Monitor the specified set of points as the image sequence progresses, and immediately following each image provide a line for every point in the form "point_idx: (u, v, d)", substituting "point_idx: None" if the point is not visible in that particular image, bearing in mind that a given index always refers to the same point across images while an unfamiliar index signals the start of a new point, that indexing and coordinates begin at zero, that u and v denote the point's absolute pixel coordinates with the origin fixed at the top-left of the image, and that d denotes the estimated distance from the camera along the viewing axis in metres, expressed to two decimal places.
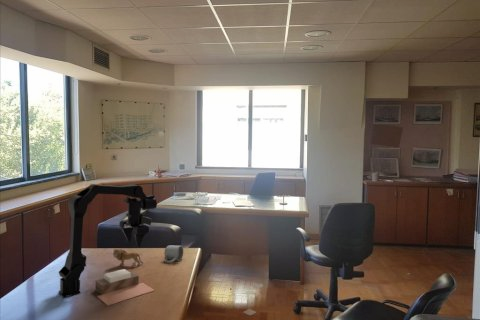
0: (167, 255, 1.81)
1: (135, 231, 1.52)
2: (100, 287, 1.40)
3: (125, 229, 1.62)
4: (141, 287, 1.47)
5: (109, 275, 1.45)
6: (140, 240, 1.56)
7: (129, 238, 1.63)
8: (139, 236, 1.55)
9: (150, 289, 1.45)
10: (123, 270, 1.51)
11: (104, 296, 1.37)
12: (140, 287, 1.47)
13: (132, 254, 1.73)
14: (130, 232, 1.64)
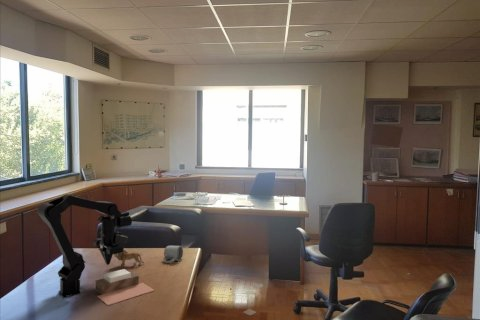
0: (167, 255, 1.81)
1: (108, 251, 1.46)
2: (100, 287, 1.40)
3: (103, 250, 1.53)
4: (141, 287, 1.47)
5: (109, 275, 1.45)
6: (109, 258, 1.53)
7: None
8: (108, 254, 1.52)
9: (150, 289, 1.45)
10: (123, 270, 1.51)
11: (104, 296, 1.37)
12: (140, 287, 1.47)
13: (133, 254, 1.73)
14: None
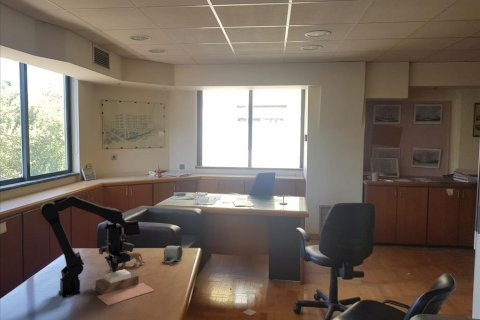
0: (166, 256, 1.80)
1: (114, 260, 1.42)
2: (100, 287, 1.40)
3: None
4: (141, 287, 1.47)
5: (109, 275, 1.44)
6: (116, 266, 1.49)
7: None
8: (114, 262, 1.48)
9: (150, 289, 1.45)
10: (123, 270, 1.50)
11: (104, 296, 1.37)
12: (140, 287, 1.47)
13: (134, 254, 1.73)
14: None
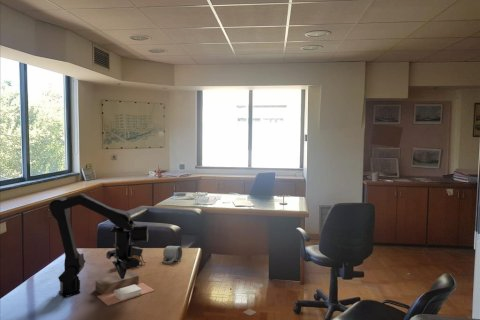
0: (166, 256, 1.80)
1: (123, 265, 1.36)
2: (100, 287, 1.40)
3: None
4: (141, 287, 1.47)
5: None
6: (124, 272, 1.43)
7: None
8: (123, 267, 1.43)
9: (150, 289, 1.45)
10: None
11: (104, 296, 1.37)
12: (140, 287, 1.47)
13: None
14: None
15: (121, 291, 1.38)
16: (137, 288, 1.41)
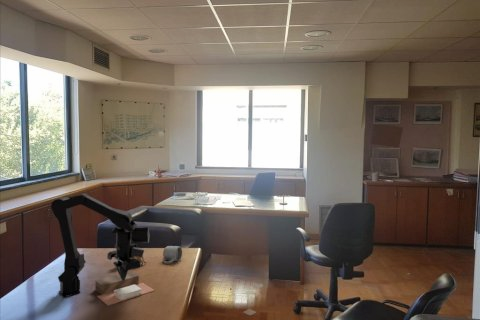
0: (166, 256, 1.80)
1: (124, 266, 1.35)
2: (100, 287, 1.40)
3: (118, 265, 1.42)
4: (141, 287, 1.47)
5: None
6: (125, 272, 1.42)
7: None
8: (124, 268, 1.42)
9: (150, 289, 1.45)
10: None
11: (104, 296, 1.37)
12: (140, 287, 1.47)
13: None
14: None
15: (121, 291, 1.38)
16: (137, 288, 1.41)
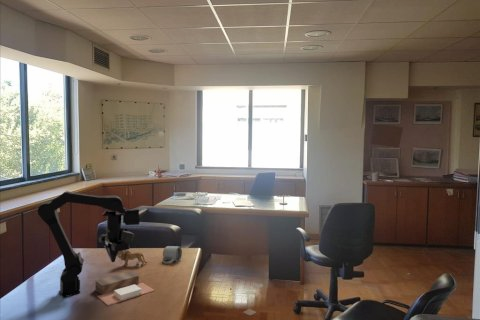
0: (165, 256, 1.80)
1: (113, 248, 1.38)
2: (100, 287, 1.40)
3: None
4: (141, 287, 1.47)
5: None
6: (115, 255, 1.45)
7: None
8: (113, 250, 1.45)
9: (150, 289, 1.45)
10: None
11: (104, 296, 1.37)
12: (140, 287, 1.47)
13: (136, 254, 1.73)
14: None
15: (121, 291, 1.38)
16: (137, 288, 1.41)
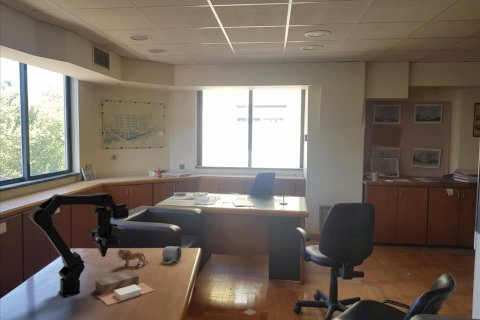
0: (165, 256, 1.79)
1: (103, 243, 1.42)
2: (100, 287, 1.40)
3: (98, 242, 1.49)
4: (141, 287, 1.47)
5: None
6: (105, 250, 1.49)
7: None
8: (104, 246, 1.49)
9: (150, 289, 1.45)
10: None
11: (104, 296, 1.37)
12: (140, 287, 1.47)
13: (137, 254, 1.73)
14: None
15: (121, 291, 1.38)
16: (137, 288, 1.41)
